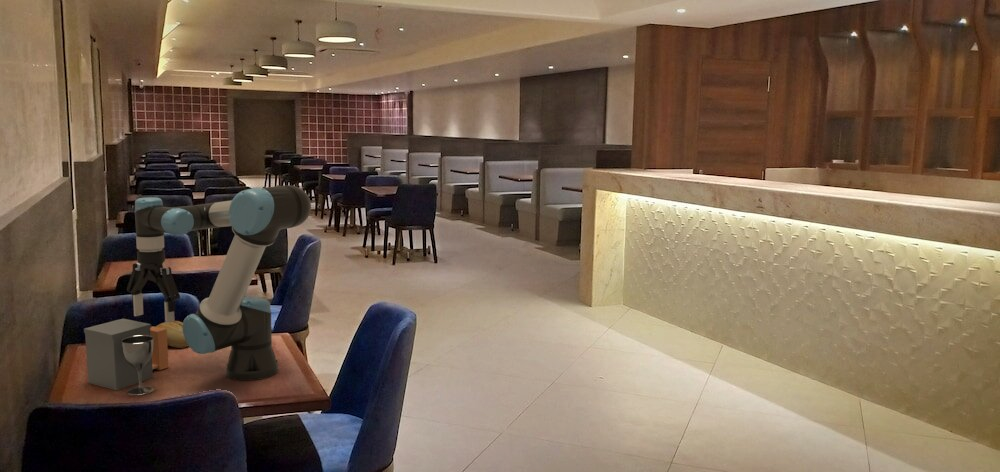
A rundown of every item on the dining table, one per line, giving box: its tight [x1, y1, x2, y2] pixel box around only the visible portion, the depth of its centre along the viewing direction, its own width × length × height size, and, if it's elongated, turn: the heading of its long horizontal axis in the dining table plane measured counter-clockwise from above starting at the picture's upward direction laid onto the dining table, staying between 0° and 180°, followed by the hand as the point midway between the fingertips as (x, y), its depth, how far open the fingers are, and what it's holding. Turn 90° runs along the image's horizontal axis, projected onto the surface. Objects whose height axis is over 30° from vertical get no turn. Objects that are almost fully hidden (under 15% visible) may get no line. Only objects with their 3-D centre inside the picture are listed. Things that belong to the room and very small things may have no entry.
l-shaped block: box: [150, 325, 169, 371], centre depth 229 cm, size 6×11×12 cm, turn 153°
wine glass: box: [122, 335, 155, 396], centre depth 213 cm, size 8×8×15 cm
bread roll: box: [155, 320, 189, 349], centre depth 256 cm, size 10×15×8 cm, turn 69°
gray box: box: [83, 318, 154, 391], centre depth 221 cm, size 12×13×16 cm
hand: (154, 318), depth 231 cm, fingers open, 13 cm apart
